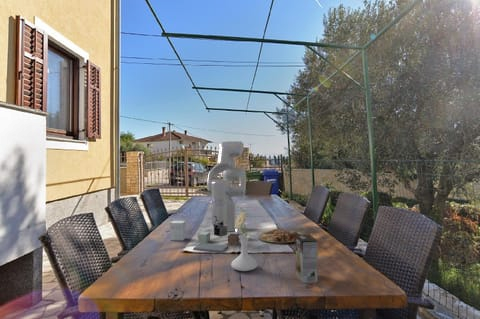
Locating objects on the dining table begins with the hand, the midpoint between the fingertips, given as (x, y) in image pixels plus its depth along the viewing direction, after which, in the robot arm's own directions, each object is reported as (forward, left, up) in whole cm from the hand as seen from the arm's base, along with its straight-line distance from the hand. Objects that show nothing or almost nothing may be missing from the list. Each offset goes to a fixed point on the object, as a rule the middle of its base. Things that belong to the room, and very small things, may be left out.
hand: (219, 233), depth 161 cm
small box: (+1, -26, -5) cm, 26 cm away
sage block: (+1, -9, -5) cm, 10 cm away
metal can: (-10, +9, -5) cm, 14 cm away
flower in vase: (+35, +25, -5) cm, 43 cm away
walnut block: (+1, +9, -5) cm, 11 cm away
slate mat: (+12, 0, -5) cm, 14 cm away
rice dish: (-18, +33, -6) cm, 38 cm away
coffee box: (+37, +51, -5) cm, 63 cm away
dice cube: (0, +1, -1) cm, 2 cm away
